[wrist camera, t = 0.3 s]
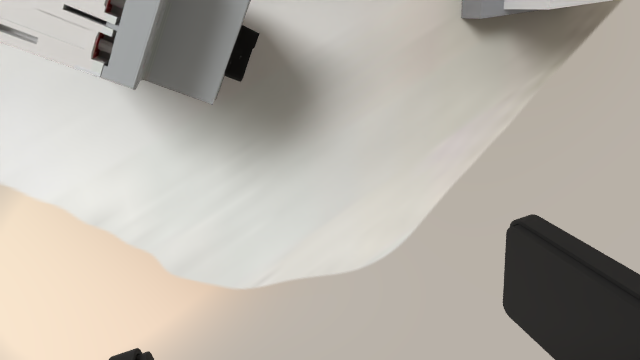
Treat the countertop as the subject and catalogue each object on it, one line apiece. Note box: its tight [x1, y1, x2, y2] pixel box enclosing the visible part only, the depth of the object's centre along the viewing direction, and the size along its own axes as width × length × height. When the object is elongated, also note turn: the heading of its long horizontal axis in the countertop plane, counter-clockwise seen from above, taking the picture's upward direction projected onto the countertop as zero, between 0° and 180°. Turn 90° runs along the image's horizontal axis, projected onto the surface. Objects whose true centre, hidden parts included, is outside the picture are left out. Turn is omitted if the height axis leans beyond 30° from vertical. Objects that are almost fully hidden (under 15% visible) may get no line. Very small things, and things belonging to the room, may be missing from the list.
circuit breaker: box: [0, 0, 259, 105], centre depth 26 cm, size 8×14×15 cm, turn 65°
